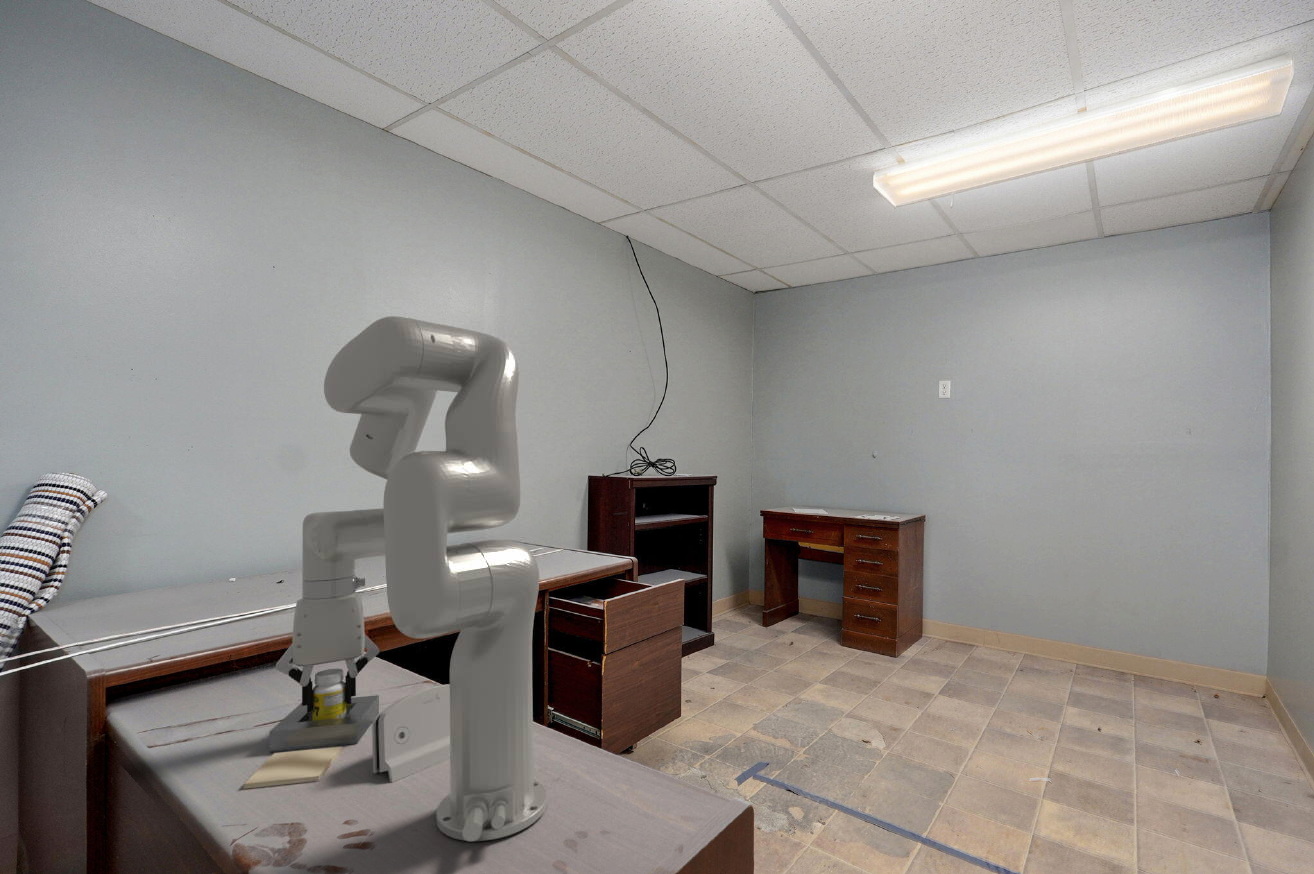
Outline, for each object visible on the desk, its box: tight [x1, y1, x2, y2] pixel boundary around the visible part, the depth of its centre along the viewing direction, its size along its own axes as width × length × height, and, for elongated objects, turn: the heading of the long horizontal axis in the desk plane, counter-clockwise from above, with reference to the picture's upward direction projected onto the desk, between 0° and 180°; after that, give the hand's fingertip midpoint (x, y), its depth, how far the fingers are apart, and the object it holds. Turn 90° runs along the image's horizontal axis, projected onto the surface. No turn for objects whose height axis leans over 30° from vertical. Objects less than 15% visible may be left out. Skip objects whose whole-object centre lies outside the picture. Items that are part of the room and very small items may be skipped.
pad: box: [243, 745, 343, 790], centre depth 84 cm, size 9×9×1 cm
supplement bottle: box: [312, 668, 346, 721], centre depth 96 cm, size 5×5×8 cm
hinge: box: [371, 683, 450, 783], centre depth 88 cm, size 17×5×10 cm, turn 140°
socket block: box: [269, 695, 380, 753], centre depth 96 cm, size 12×12×3 cm
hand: (329, 704), depth 96 cm, fingers closed on supplement bottle, 4 cm apart
